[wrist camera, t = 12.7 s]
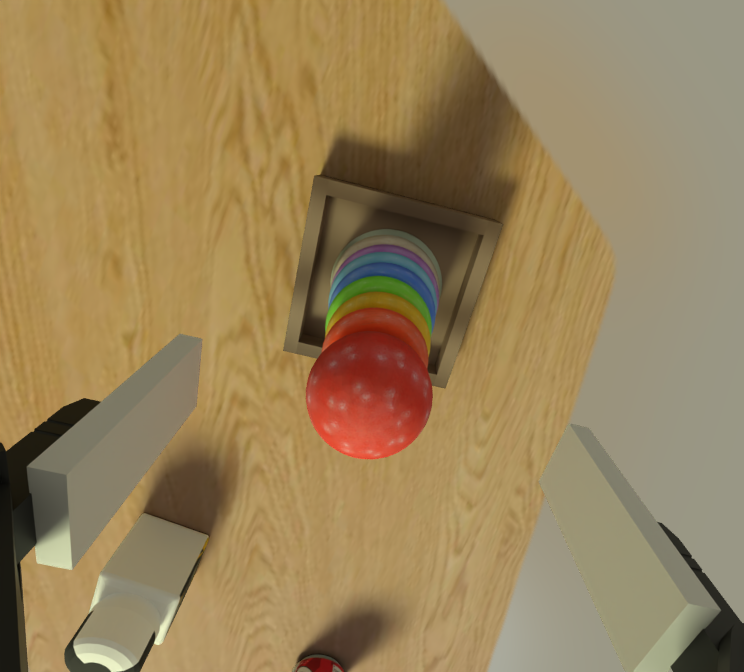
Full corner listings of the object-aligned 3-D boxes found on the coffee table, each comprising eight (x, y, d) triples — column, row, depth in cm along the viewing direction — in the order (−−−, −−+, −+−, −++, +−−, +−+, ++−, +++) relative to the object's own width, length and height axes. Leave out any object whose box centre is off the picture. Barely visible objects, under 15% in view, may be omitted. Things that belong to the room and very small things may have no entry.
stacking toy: (406, 211, 30) (430, 278, 13) (455, 306, 33) (530, 469, 15) (312, 265, 32) (220, 388, 15) (365, 351, 34) (340, 544, 17)
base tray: (319, 174, 30) (314, 175, 28) (494, 219, 31) (503, 224, 29) (290, 338, 35) (283, 350, 33) (441, 374, 36) (445, 388, 34)
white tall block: (193, 578, 46) (131, 709, 35) (128, 556, 46) (44, 683, 34) (211, 534, 44) (150, 660, 33) (143, 510, 43) (57, 631, 32)
